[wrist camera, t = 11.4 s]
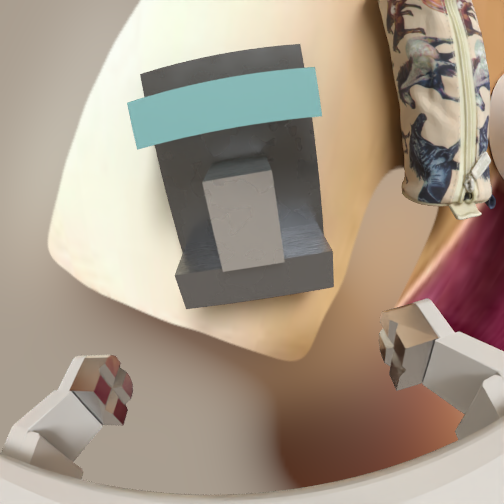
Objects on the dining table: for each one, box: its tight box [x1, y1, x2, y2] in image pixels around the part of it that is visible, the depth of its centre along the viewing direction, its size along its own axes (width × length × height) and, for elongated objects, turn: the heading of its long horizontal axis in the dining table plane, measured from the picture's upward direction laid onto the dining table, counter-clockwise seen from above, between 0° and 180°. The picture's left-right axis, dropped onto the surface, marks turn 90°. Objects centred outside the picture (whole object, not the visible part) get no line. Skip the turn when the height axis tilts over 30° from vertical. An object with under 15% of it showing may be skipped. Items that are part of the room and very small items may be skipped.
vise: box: [140, 44, 334, 309], centre depth 21 cm, size 12×18×7 cm, turn 9°
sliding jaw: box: [127, 67, 322, 149], centre depth 18 cm, size 11×3×5 cm, turn 99°
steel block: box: [202, 154, 285, 272], centre depth 21 cm, size 4×6×6 cm, turn 9°
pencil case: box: [378, 0, 496, 220], centre depth 16 cm, size 22×8×10 cm, turn 9°
